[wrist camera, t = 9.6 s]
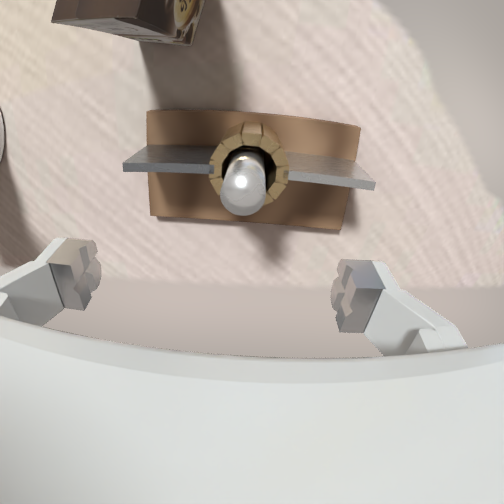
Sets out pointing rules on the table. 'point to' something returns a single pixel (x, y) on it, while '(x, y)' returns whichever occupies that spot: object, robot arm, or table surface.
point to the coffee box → (134, 18)
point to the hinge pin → (244, 181)
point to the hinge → (276, 171)
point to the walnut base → (293, 140)
